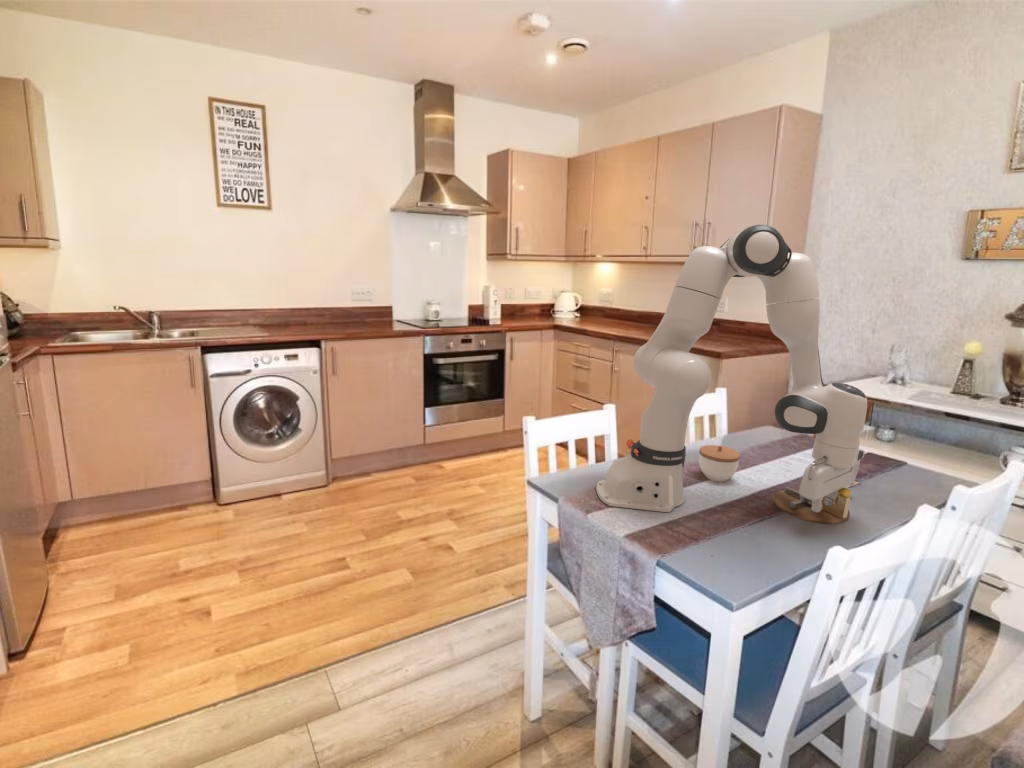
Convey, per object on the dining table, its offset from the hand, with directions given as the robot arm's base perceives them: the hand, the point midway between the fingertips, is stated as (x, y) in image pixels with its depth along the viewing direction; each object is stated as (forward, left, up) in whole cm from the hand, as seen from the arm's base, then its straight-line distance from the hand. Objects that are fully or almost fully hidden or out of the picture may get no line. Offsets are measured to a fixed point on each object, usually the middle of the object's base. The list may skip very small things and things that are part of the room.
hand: (822, 507), depth 130 cm
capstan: (+2, +7, -2) cm, 8 cm away
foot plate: (+2, +8, -4) cm, 9 cm away
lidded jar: (-15, +26, -4) cm, 30 cm away
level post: (+14, +16, -4) cm, 21 cm away
